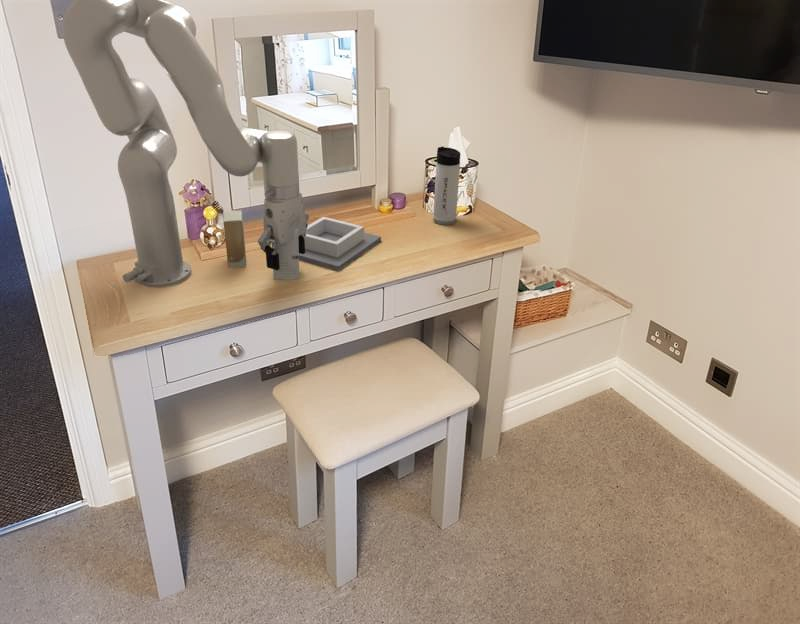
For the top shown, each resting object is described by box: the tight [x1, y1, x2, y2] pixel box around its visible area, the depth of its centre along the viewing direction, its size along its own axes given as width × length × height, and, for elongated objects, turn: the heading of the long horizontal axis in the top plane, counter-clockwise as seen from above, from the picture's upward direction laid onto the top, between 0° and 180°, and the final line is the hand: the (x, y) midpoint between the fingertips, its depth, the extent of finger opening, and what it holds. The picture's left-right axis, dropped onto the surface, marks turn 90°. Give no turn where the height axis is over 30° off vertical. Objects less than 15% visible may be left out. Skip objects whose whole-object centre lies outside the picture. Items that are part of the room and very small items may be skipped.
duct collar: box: [299, 216, 382, 271], centre depth 173 cm, size 20×18×5 cm
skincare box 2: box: [271, 228, 300, 280], centre depth 158 cm, size 6×4×12 cm
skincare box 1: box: [222, 210, 248, 269], centre depth 162 cm, size 6×4×12 cm
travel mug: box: [432, 146, 461, 226], centre depth 186 cm, size 6×7×20 cm
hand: (286, 260), depth 159 cm, fingers open, 9 cm apart
